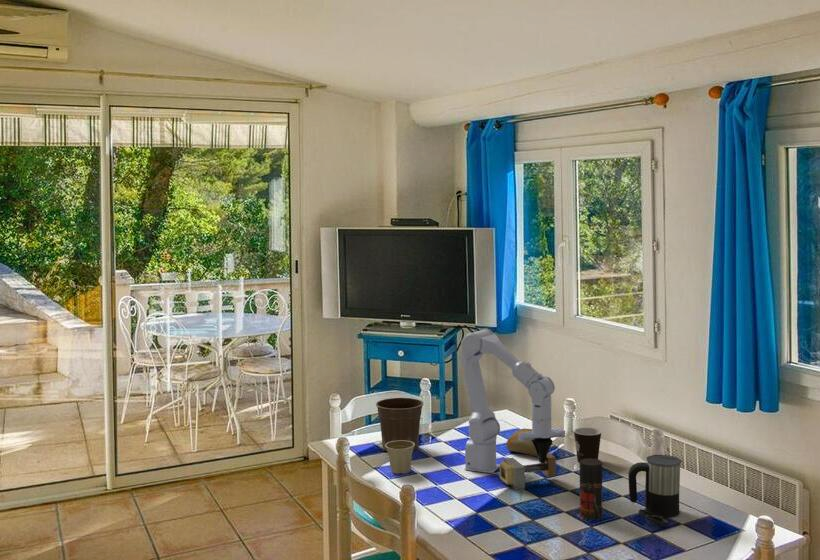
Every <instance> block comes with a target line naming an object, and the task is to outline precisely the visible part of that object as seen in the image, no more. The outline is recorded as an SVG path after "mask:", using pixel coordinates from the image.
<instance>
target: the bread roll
mask: <svg viewBox="0 0 820 560" xmlns="http://www.w3.org/2000/svg"><path fill="white" fill-rule="evenodd" d="M530 431H532V428H522V429H520V430H519V429H518V430H517V431H515V432H514V433H513V434H511V435H510V436H509V437H508V438H507V441H506V444H505V445H506V449H507V450H509V451H510V452H515V453H519V454H521V453H522V454H525V455H531V456H535V457H538V455H537V451H536V449H535V446H534V444H533V442H532V440H525V441H523V442H520V441H519V440H518V434H520V433H525V432H530ZM548 453H550V449H549V450H548Z"/></svg>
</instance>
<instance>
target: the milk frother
mask: <svg viewBox="0 0 820 560" xmlns="http://www.w3.org/2000/svg"><path fill="white" fill-rule="evenodd" d="M682 462H683V461H682V459H681V458H679V457H677V456H674V455H668V454H653V455H652V454H651V455H648V456H647V457H646V462H643V461H642V462H636V463H633V465H631V466H630V467H629V471H628V494H629V496H628V497H629V501H630V502H631V503H634V504H635V503H637V501H638V486H637V475H638V473H640V472H645V486H644V487H645V490H644V491H645V493H644V496H645V497H644V498H645V499H644V502H645V503H644V505H645V508H644V509H642V508H640V509H639V510H638V511H637V512H638V514H639V515H640V516H642V517H643V518H644V519H646V520H647V521H649V522H651V523H653V524H654V525H656V526H657V527H660V526H661V527H662V526H664V527H665V526H667V525H668V524H669V523H668V522H669V521H668V520H667V518H668V519H670V518H676V517H679V516H680V514H681V511H680V487H681V486H680V481H681V464H682Z"/></svg>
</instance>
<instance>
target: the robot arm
mask: <svg viewBox="0 0 820 560" xmlns="http://www.w3.org/2000/svg"><path fill="white" fill-rule="evenodd" d="M460 343H461V353H460V363H461V367H462V372H463V376H464V381H465V385H466V390H467V394H468V399H469V403H470V408H471V415H470V417H469V419H468V425H469V427H468V435H469V439H468V440H467V441H466V442H465V443H466V444H465V448H464V449H465V450H464V451H465V453H464V456H465V458H464V459H465V461H464V462H465V464H464V465H465V467H464V470H466V471H472V472H479V473H480V472H481V473H489V474H493V473H495V472H496V471H497V470H498V469H500V463H497V437H498V435H499V434H500V432H501V424H500V423H499V421H498V419H497V418H496V414H495V412H494V411H492V410H491V409H490V407H489V403H488V402H489V401H488V398H487V392H486V388H485V384H484V383H485V382H484V379H483V375H482V370H481V366H480V359H481V358H482V356H483V355H484V354H489V355H493V356H494V357H496V358H497V359H499V361H501V362H502V363H503V364H504V365H506V366H507V367H508V368H510V369H511V374H512V377H514V378H515V379H516V380H518V381H519V383H520V384H522V385H523V386H524V387H525V388H526V389H527V392H528V395H529V397H530V398H531V421H532V422H531V426H532V427H531V429H532V431H530V432H525V433H520V434H518V440H519V441H520V442H523V441H525V440H532V442H533V444H534V446H535V449H536V451H537V455H538V456H537V459H538V462H539V464H541V463H545V460H546V456H547V453H548V450H549V451H550V448H551V447H552V445H553V438H554V439H555V438H566V430H564V429H563V428H562V429H552V394H553V393H554V392H555V388H556V387H555V383H554V382H553V380H552V379H551V378H550V377H549V376H543V374H542V373H540V372H538V371H537V370H536V369H535V368H533V366H532V363H530V362H529V361H528V362H527V361H524V360H523V361H520V360H519V359H518V357H516V356H515V355H514V354H513V353H512V352H511V351H510V350H509V349H508V347H506V346H505V345H504V344H503V343H502V342H501V341H500V338H499V337H498V335H497V334H496V333H494V332H493V331H492V330H491V329H489V328H482V329H480V330H478V331H474V332H468V333H467V334H465V336H464V337H463V338H462V339H461V340H460Z"/></svg>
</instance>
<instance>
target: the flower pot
mask: <svg viewBox="0 0 820 560" xmlns="http://www.w3.org/2000/svg"><path fill="white" fill-rule="evenodd" d="M414 446H415V444H414V443H413V442H411V441H405V440H398V441H391V442H388V443H386V444H385V447H386V448H387V457H388V460H389V465H390V472H391V473H393V474H395V473H396V474H397V475H399V474H408V473H410V472H411V469H412V459H413V452H414V451H413V448H414ZM412 451H413V452H412ZM396 474H395V475H396Z"/></svg>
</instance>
